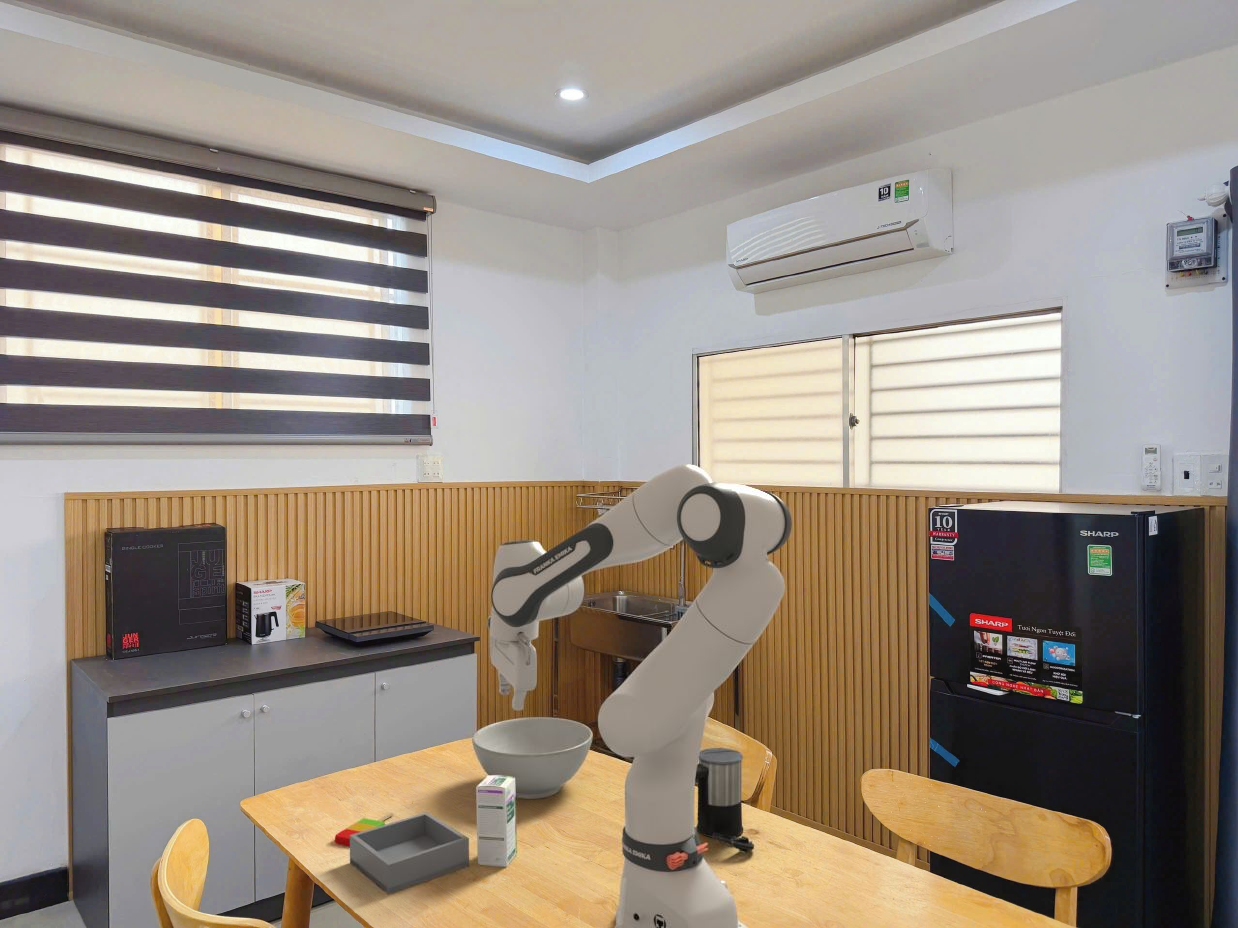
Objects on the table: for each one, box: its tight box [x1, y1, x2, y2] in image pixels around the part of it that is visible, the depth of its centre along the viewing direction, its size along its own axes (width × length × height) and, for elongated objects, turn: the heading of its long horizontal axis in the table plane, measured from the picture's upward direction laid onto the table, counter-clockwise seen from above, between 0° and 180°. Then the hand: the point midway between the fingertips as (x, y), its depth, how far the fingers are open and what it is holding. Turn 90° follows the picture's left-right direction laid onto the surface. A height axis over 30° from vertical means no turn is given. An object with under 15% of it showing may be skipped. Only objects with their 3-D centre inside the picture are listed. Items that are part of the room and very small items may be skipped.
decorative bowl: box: [471, 716, 594, 800], centre depth 192 cm, size 27×27×12 cm
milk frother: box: [695, 747, 755, 853], centre depth 166 cm, size 14×16×15 cm
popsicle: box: [334, 812, 394, 848], centre depth 171 cm, size 6×15×2 cm, turn 158°
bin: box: [349, 811, 470, 895], centre depth 156 cm, size 16×16×5 cm
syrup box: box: [475, 774, 518, 868], centre depth 157 cm, size 6×6×14 cm
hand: (510, 701), depth 158 cm, fingers open, 8 cm apart
